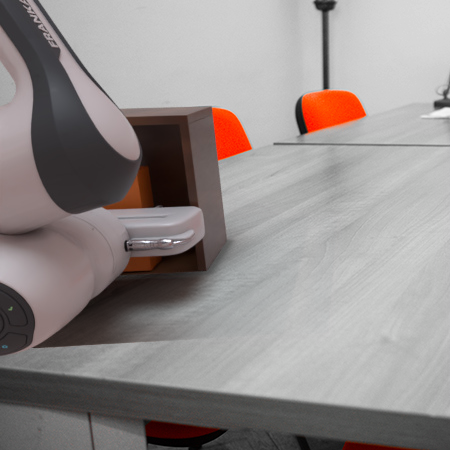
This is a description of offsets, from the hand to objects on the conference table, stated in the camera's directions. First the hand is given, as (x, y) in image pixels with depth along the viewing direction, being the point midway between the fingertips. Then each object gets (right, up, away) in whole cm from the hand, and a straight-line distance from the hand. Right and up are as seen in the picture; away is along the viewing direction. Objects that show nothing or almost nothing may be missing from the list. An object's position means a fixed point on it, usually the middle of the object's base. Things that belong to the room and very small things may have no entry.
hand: (130, 212), depth 69 cm
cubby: (0, -7, +5) cm, 9 cm away
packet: (0, -6, +1) cm, 7 cm away
